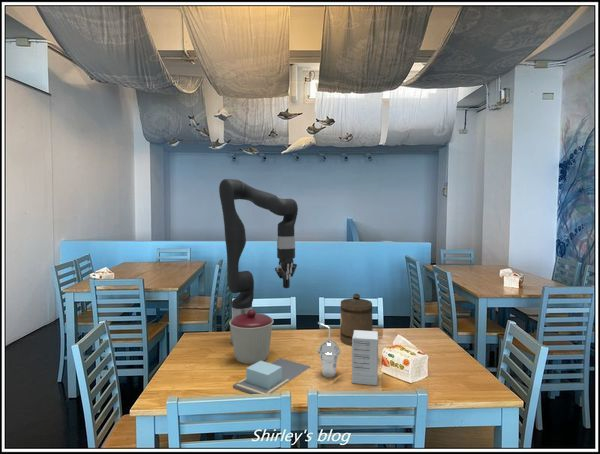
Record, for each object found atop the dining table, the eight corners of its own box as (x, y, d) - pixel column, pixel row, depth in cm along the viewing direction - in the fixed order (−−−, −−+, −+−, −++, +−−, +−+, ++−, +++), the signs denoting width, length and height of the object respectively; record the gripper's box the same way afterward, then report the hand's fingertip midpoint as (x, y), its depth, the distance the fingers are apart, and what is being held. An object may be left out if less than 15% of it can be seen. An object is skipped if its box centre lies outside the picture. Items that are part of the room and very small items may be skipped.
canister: (227, 354, 170) (226, 306, 169) (268, 349, 176) (268, 302, 174) (233, 372, 153) (232, 318, 152) (278, 366, 159) (278, 314, 157)
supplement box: (377, 386, 142) (378, 339, 140) (351, 383, 144) (351, 338, 142) (377, 374, 151) (378, 330, 150) (353, 372, 153) (353, 329, 152)
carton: (246, 381, 143) (246, 368, 143) (260, 373, 150) (260, 360, 149) (268, 389, 138) (267, 375, 137) (282, 380, 144) (281, 366, 144)
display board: (232, 387, 141) (232, 384, 141) (280, 360, 164) (280, 357, 164) (266, 399, 133) (266, 395, 132) (311, 369, 156) (311, 365, 156)
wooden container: (354, 332, 197) (354, 288, 195) (378, 340, 186) (379, 294, 185) (333, 340, 187) (333, 293, 185) (358, 348, 176) (358, 299, 175)
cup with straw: (324, 384, 143) (324, 329, 142) (313, 373, 152) (313, 322, 150) (344, 379, 147) (345, 326, 145) (332, 370, 155) (333, 319, 153)
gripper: (287, 244, 173) (288, 283, 175) (269, 248, 163) (269, 289, 164) (302, 245, 169) (302, 286, 171) (284, 249, 158) (284, 292, 160)
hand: (286, 287), depth 167 cm, fingers closed
